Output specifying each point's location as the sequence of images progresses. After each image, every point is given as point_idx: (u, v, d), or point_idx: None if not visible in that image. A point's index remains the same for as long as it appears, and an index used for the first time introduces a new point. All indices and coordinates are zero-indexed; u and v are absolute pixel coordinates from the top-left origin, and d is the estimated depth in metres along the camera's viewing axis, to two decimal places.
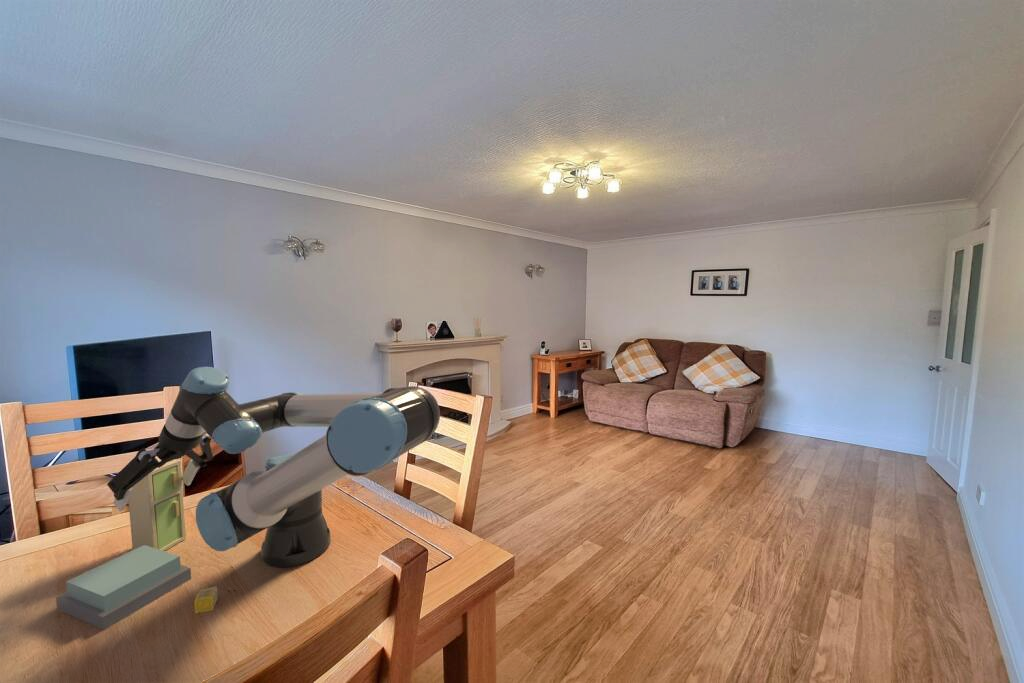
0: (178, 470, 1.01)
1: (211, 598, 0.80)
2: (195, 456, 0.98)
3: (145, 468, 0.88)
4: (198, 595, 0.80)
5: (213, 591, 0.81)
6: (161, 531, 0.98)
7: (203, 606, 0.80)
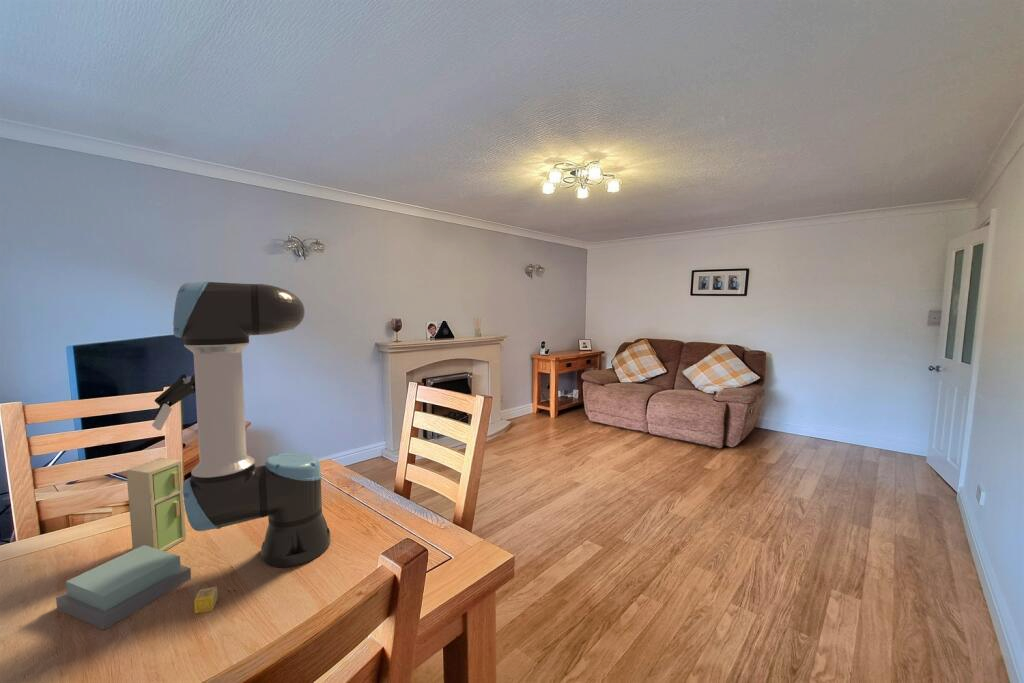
0: (179, 470, 1.02)
1: (211, 598, 0.80)
2: None
3: None
4: (197, 595, 0.80)
5: (213, 591, 0.81)
6: (161, 531, 0.98)
7: (203, 606, 0.80)
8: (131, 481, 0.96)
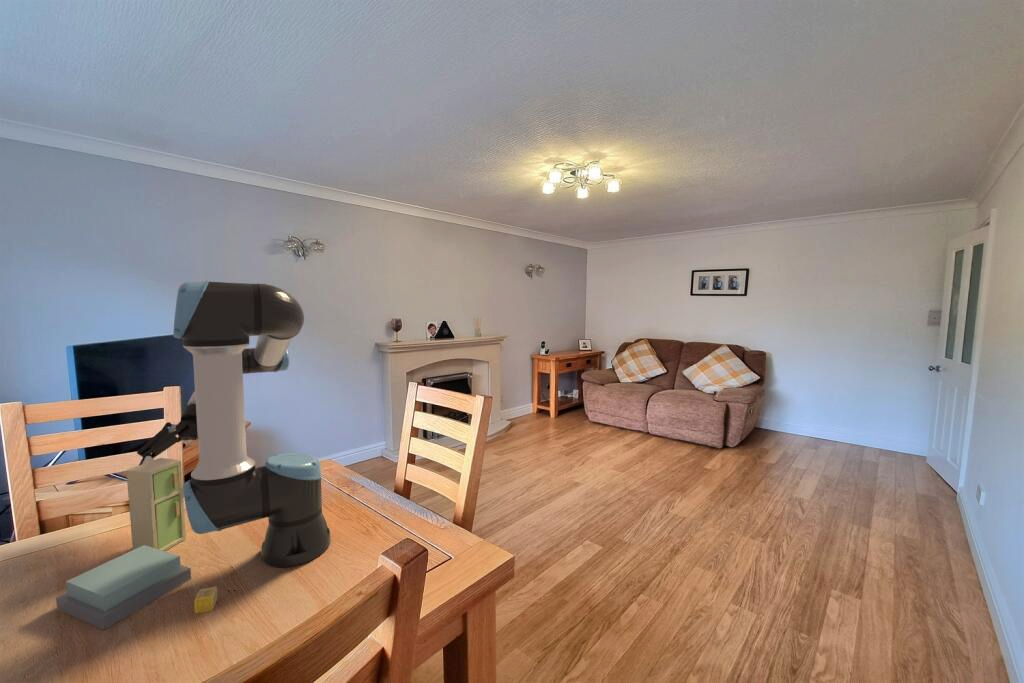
0: (179, 470, 1.02)
1: (211, 598, 0.80)
2: None
3: None
4: (197, 595, 0.80)
5: (213, 591, 0.81)
6: (161, 531, 0.98)
7: (203, 606, 0.80)
8: (131, 481, 0.96)
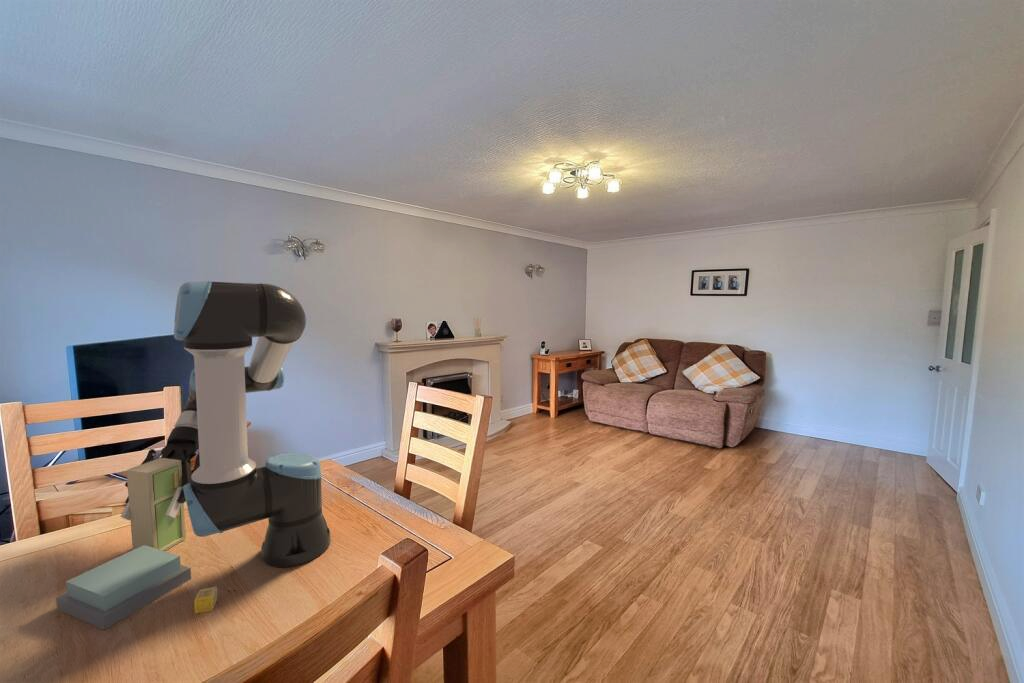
0: (179, 470, 1.02)
1: (211, 598, 0.80)
2: (184, 468, 1.04)
3: None
4: (197, 595, 0.80)
5: (213, 591, 0.81)
6: (161, 531, 0.98)
7: (203, 606, 0.80)
8: (131, 481, 0.96)
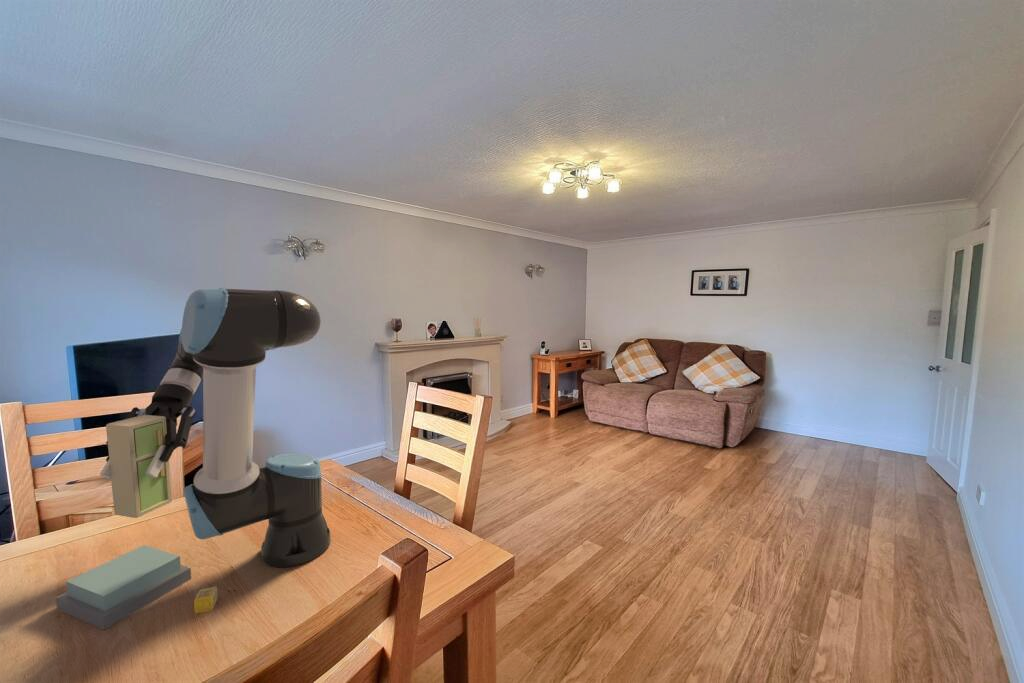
0: (163, 427, 0.95)
1: (211, 598, 0.80)
2: (169, 426, 0.97)
3: None
4: (197, 595, 0.80)
5: (213, 591, 0.81)
6: (144, 491, 0.91)
7: (203, 606, 0.80)
8: (111, 436, 0.89)
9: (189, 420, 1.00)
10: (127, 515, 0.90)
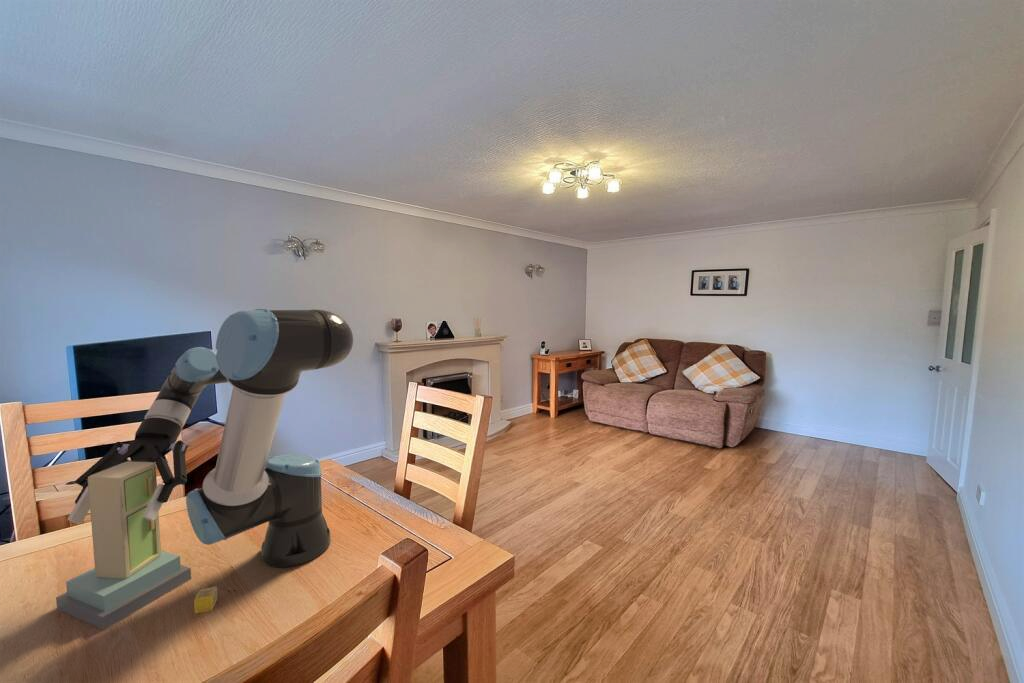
0: (153, 474, 0.86)
1: (211, 598, 0.80)
2: (161, 464, 0.87)
3: None
4: (197, 595, 0.80)
5: (213, 591, 0.81)
6: (133, 548, 0.82)
7: (203, 606, 0.80)
8: (94, 489, 0.79)
9: (182, 455, 0.90)
10: (113, 576, 0.81)
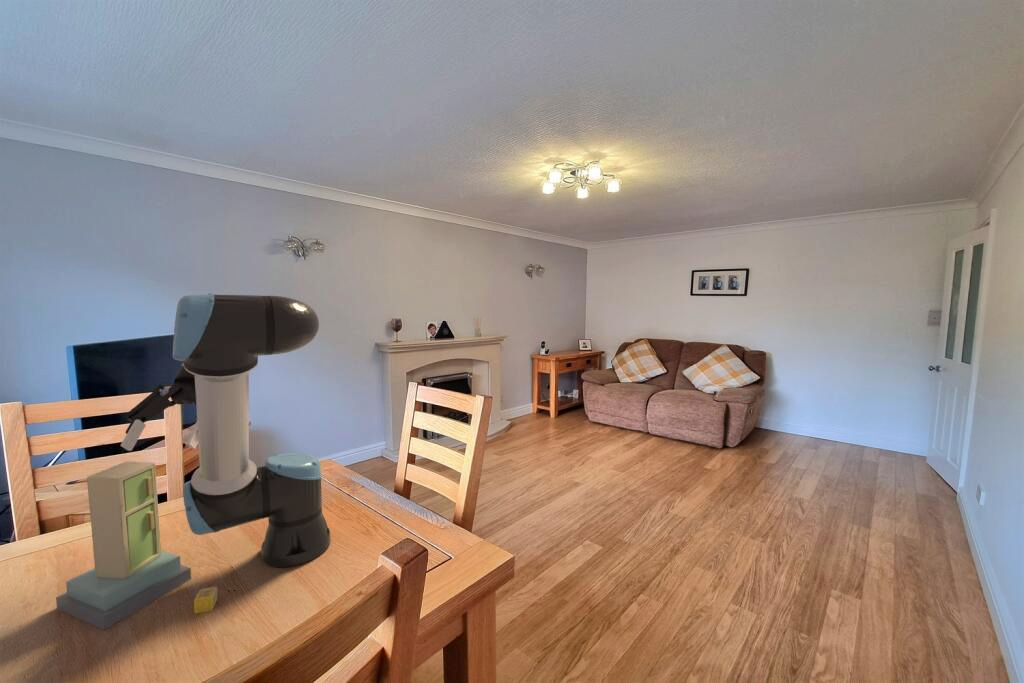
0: (153, 474, 0.86)
1: (211, 598, 0.80)
2: None
3: None
4: (197, 595, 0.80)
5: (213, 591, 0.81)
6: (133, 548, 0.82)
7: (203, 606, 0.80)
8: (94, 490, 0.79)
9: None
10: (113, 577, 0.81)
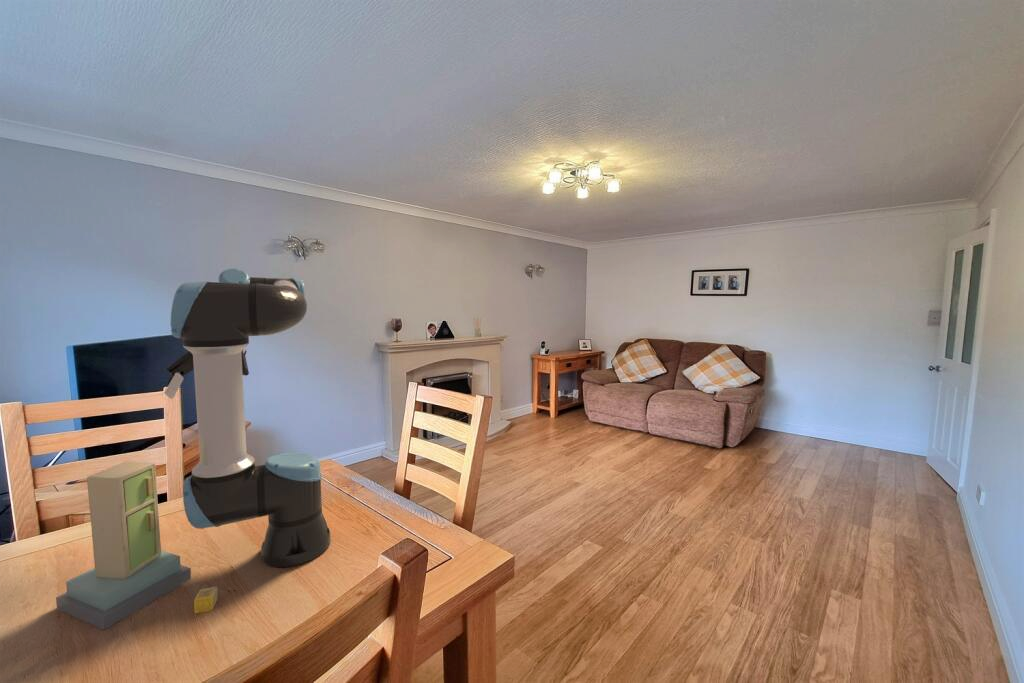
0: (153, 474, 0.86)
1: (211, 598, 0.80)
2: None
3: None
4: (197, 595, 0.80)
5: (213, 591, 0.81)
6: (133, 548, 0.82)
7: (203, 606, 0.80)
8: (94, 490, 0.79)
9: (244, 356, 1.18)
10: (113, 577, 0.81)
